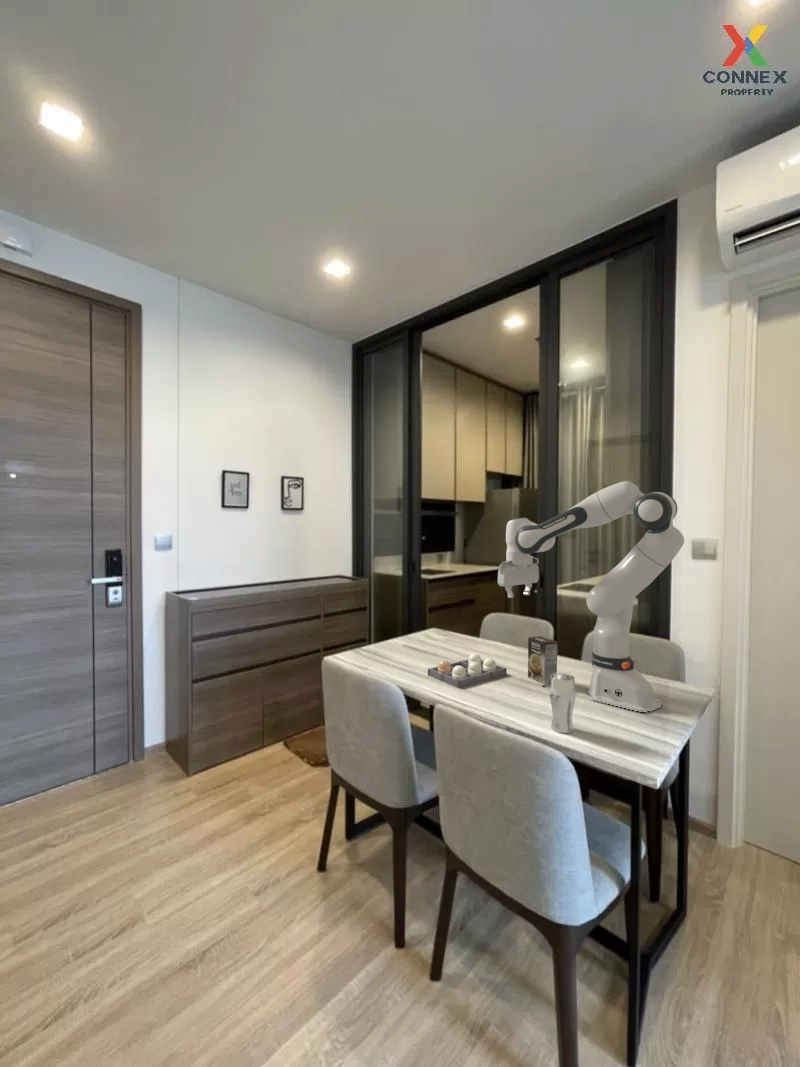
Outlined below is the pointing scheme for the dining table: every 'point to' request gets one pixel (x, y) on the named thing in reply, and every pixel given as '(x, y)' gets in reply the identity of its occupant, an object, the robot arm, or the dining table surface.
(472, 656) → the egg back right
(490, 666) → the egg front right
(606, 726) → the dining table surface
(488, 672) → the egg carton
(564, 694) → the beer glass
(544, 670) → the coffee box
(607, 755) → the dining table surface
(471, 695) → the dining table surface
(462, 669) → the egg front left
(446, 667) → the brown egg
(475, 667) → the egg front middle
